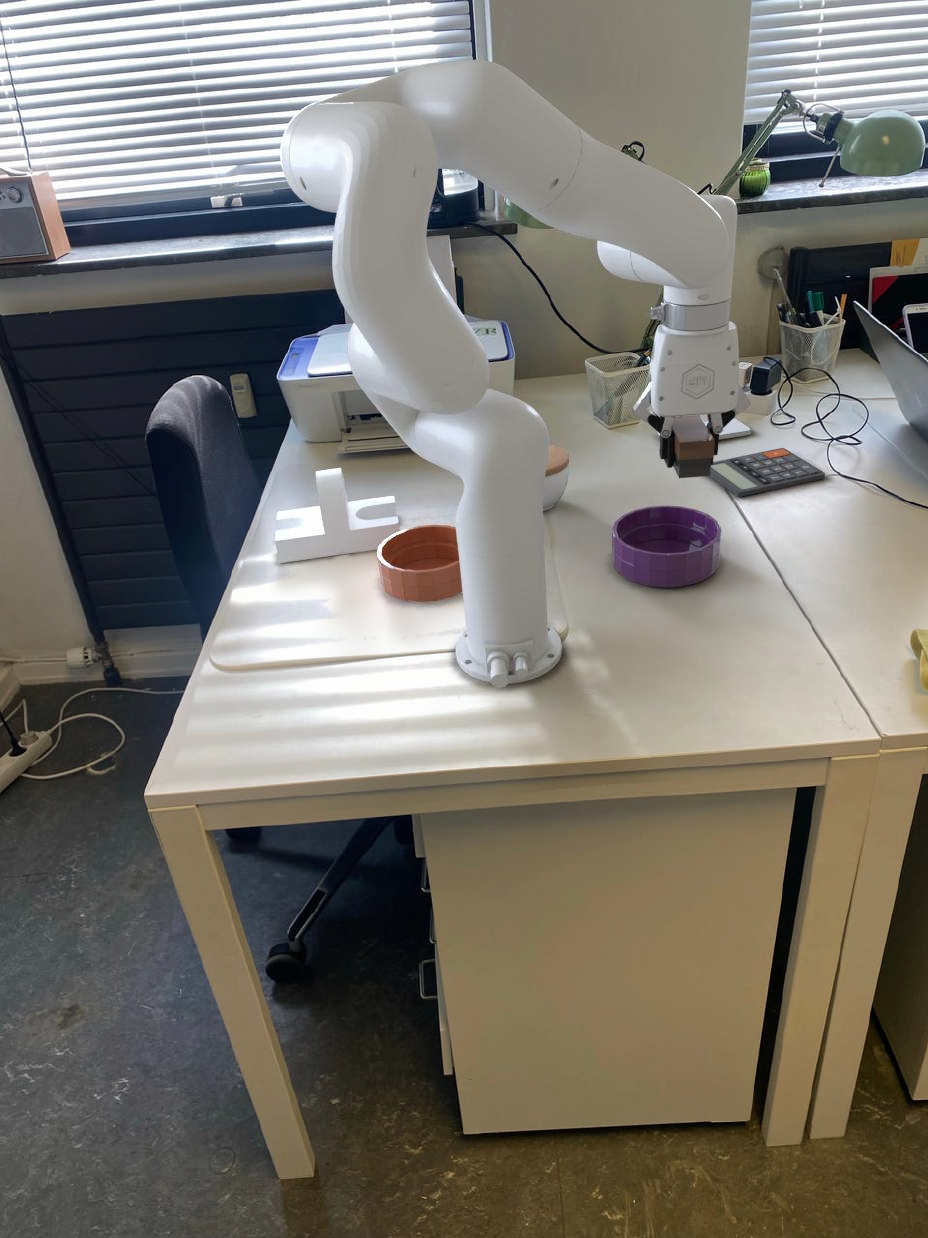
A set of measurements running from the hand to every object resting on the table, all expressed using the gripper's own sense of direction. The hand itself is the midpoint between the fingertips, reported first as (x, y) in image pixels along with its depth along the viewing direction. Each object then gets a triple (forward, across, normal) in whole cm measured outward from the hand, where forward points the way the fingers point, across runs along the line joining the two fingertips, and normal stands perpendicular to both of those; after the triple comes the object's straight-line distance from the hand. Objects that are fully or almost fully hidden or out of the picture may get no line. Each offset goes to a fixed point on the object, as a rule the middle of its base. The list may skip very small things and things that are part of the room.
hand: (688, 460), depth 113 cm
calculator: (+15, +18, +26) cm, 35 cm away
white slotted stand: (+15, -48, +15) cm, 53 cm away
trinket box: (+15, -18, +22) cm, 32 cm away
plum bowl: (+15, -2, 0) cm, 15 cm away
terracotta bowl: (+15, -34, +1) cm, 37 cm away
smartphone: (+15, +12, +44) cm, 48 cm away
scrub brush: (+1, 0, 0) cm, 1 cm away
